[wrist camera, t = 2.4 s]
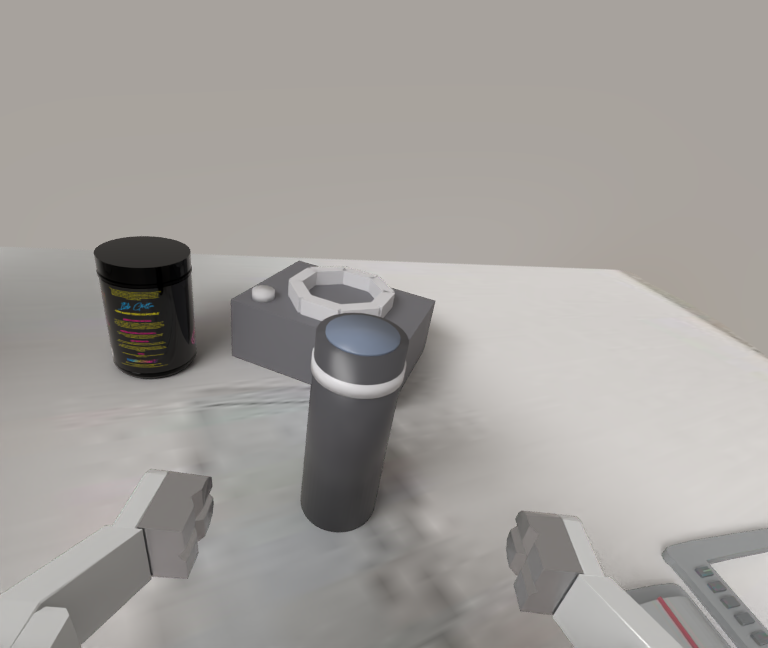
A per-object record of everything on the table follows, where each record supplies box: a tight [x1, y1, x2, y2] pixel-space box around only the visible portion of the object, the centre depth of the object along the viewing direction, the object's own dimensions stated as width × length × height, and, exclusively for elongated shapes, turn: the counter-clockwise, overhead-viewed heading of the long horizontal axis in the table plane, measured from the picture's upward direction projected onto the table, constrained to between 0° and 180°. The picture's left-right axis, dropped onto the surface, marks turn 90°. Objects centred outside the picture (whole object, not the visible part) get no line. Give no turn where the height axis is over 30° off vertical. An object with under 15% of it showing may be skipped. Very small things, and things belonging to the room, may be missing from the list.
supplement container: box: [94, 236, 196, 379], centre depth 37 cm, size 7×7×10 cm
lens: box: [301, 313, 409, 532], centre depth 26 cm, size 5×5×13 cm
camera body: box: [231, 261, 435, 394], centre depth 43 cm, size 16×12×8 cm
